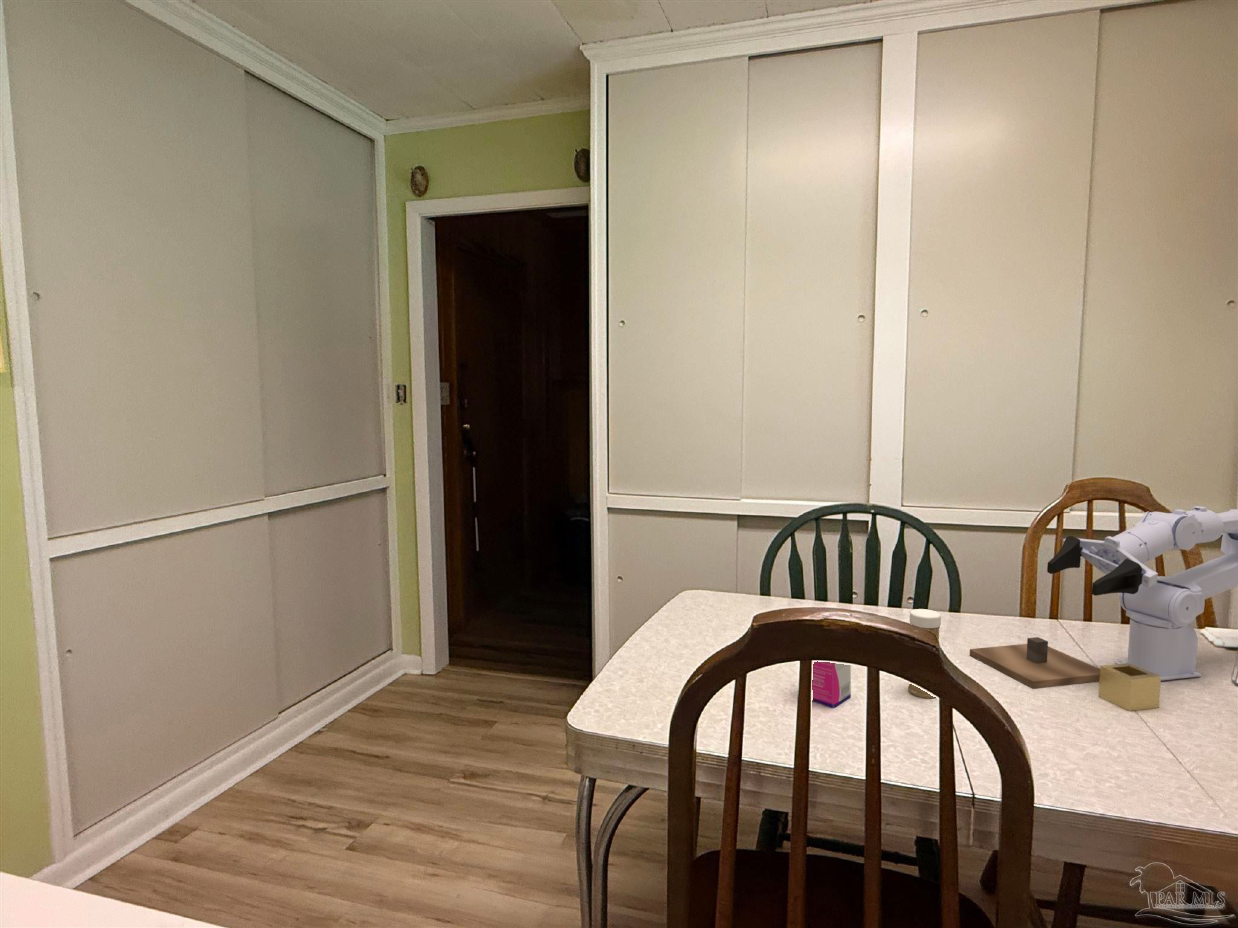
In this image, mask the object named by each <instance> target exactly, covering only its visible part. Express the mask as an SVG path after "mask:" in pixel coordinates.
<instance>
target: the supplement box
mask: <svg viewBox="0 0 1238 928" xmlns="http://www.w3.org/2000/svg"><path fill="white" fill-rule="evenodd" d="M851 666H852V665H844V664H836V663H830V662H818V661H817V662H814V664H813V680H812V690H813V701H812V702H814V703H817V704H820V705H823V706H826V707H829V708H831V709H835V708H836V707H837V706H839V705H840V704H843V703H844V702H846V701H847V700H849V699H851V697H852V695H851V689H852V687H851V686H852V685H851V679H852V678H851V674H852V673H851V672H852V671H851Z"/></svg>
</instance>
